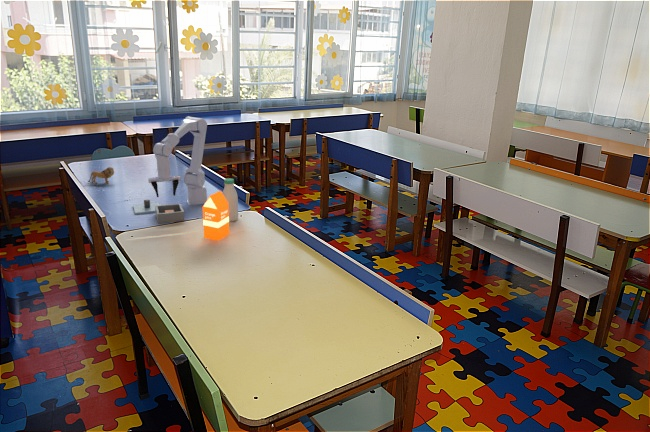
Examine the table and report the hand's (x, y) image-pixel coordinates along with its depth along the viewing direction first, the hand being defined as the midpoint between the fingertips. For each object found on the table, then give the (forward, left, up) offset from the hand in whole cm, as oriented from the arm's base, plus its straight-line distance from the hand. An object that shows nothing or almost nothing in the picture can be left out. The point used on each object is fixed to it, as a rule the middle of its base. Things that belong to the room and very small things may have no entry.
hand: (166, 195), depth 241 cm
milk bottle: (-28, +15, -10) cm, 33 cm away
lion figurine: (+29, -62, -10) cm, 70 cm away
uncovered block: (-1, +6, -9) cm, 11 cm away
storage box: (-1, +6, -10) cm, 11 cm away
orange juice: (-18, +33, -10) cm, 38 cm away
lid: (+8, -9, -9) cm, 16 cm away
